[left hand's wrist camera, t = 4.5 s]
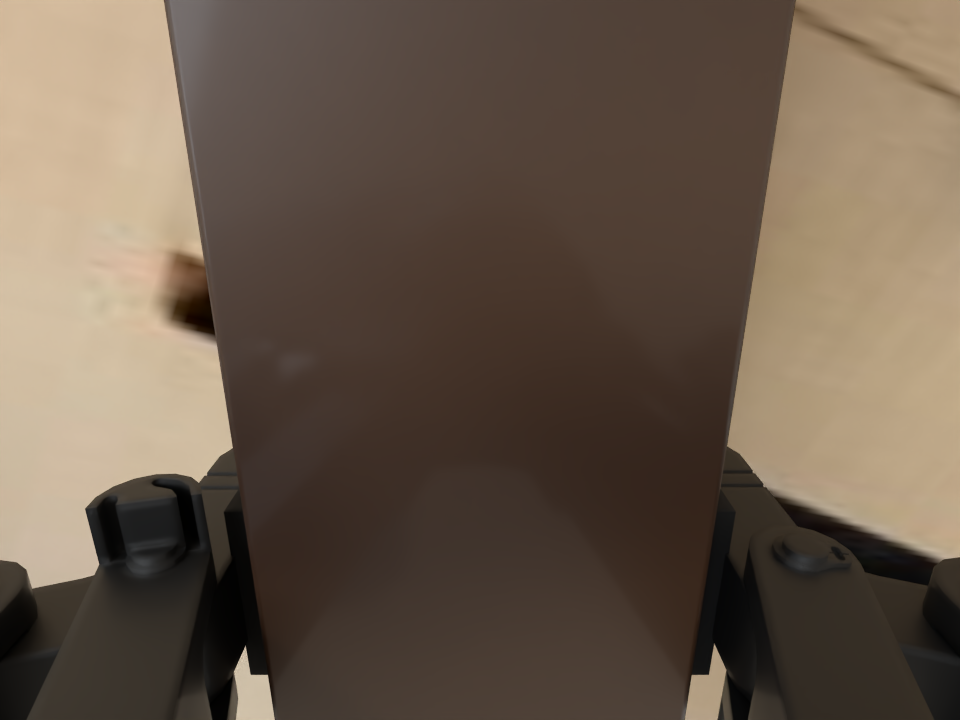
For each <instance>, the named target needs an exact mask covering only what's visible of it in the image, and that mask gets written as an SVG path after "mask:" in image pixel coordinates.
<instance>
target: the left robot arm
mask: <svg viewBox="0 0 960 720" xmlns="http://www.w3.org/2000/svg"><path fill="white" fill-rule="evenodd" d="M752 471H753V470H752V469H751V468H750V467H749V465H748V464H747V463H746V462H745V460H744V459H743V458H742V456H741V455H740V454H739V453H737V452H735V451H734V450H732V449H730V448H729V447H727V448H726V455H725V461H724V468H723V474H722V481H721V487H720V494H719V500H718V507H717V513H716V520H715V526H714V533H713V539H712V546H711V552H710V559H709V565H708V572H707V578H706V585H705V591H704V598H703V604H702V611H701V617H700V624H699V630H698V636H697V643H696V649H695V656H694V662H693V669H692V675H709V671H710V665H711V659H712V653H713V647H714V643H715V646H716V648H717V650H718V652H719V654H720V657H721V659H722V661H723V663H724V665H725V668H726V676H725V681H724V687H723V693H722V698H721V704H720V709H719V715H718V720H960V557H959V558H952V559H944V560H942V561H941V562H940V563H938V564H937V565H936V566H935V567H934V569H933V572H932V575H931V579H930V582H929V585H928V586H925V585H920V584H915V583H910V582H905V581H900V580H896V579H891V578H886V577H881V576H876V575H873V574H869V573H865V572H864V570H863V568H862V566H861V564H860V562H859V561H858V560H857V559H856V557H855V556H854V555H853V553H852V552H851V551H850V550H848V549H847V548H846V547H844V546H843V545H841V544H840V543H839V542H837V541H836V540H834V539H832V538H830V537H827V536H825V535H823V534H820V533H818V532H816V531H813V530H809V529H804V528H800V527H797V526H796V525H795V523H794V522H793V521H792V520H791V518H790V517H789V516H788V514H787V513H786V512H785V511H784V509H783V508H782V507H781V506H780V504H779V503H778V502H777V501H776V499H775V498H774V497H773V496H772V494H771V493H770V492H769V491H768V489H767V488H766V487H763V483H762V482H761V480H760V479H759V478H758V477H757V475H756V474H753V472H752ZM85 510H86V514H87V518H88V522H89V526H90V530H91V533H92V537H93V541H94V545H95V549H96V553H97V557H98V561H99V567H98V569H97V571H96V573H95V575H94V576H90V577H86V578H83V579H78V580H73V581H68V582H63V583H58V584H53V585H49V586H44V587H39V588H34V589H32V587H31V584H30V580H29V577H28V574H27V571H26V569H25V568H23V567H22V566H21V565H19V564H18V563H17V562H9V561H2V560H0V720H236V713H237V704H238V694H237V687H236V681H235V676H234V670H235V668H236V666H237V663H238V661H239V659H240V657H241V654H242V652H243V650H244V648H245V646H246V649H247V655H248V661H249V667H250V673H251V675H268V671H267V665H266V658H265V652H264V645H263V639H262V632H261V626H260V620H259V613H258V607H257V600H256V594H255V587H254V581H253V574H252V568H251V561H250V555H249V548H248V542H247V535H246V529H245V522H244V516H243V509H242V503H241V496H240V490H239V483H238V477H237V470H236V464H235V457H234V451H233V449H231V450H229V451H228V452H226V453H225V454H223V455H222V456H220V457H219V458H218V460H217V461H216V462H215V464H214V465H213V466H212V467H211V469H210V470H209V471H208V472H207V476H204V477H203V479H202V480H201V481H200V483H198V482H197V481H195V480H194V479H193V478H191V477H188V476H183V475H178V474H156V475H151V476H146V477H141V478H136V479H133V480H130V481H127V482H125V483H122V484H119V485H117V486H114V487H112V488H110V489H109V490H107V491H105V492H104V493H102V494H100V495H99V496H97V497H96V498H95V499H94V500H93V501H92V502H91V503H90V504H89V505H88V506H87V507H86V508H85Z"/></svg>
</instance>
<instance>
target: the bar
mask: <svg viewBox="0 0 960 720" xmlns="http://www.w3.org/2000/svg"><path fill="white" fill-rule="evenodd" d="M795 1H796V0H164V3H165V10H166V16H167V23H168V29H169V36H170V42H171V49H172V55H173V62H174V68H175V75H176V81H177V88H178V94H179V101H180V107H181V114H182V120H183V127H184V133H185V140H186V146H187V153H188V159H189V166H190V172H191V179H192V185H193V192H194V198H195V205H196V211H197V217H198V224H199V230H200V237H201V243H202V250H203V256H204V263H205V269H206V276H207V282H208V289H209V295H210V302H211V308H212V315H213V321H214V328H215V334H216V341H217V347H218V354H219V360H220V367H221V373H222V380H223V386H224V393H225V399H226V406H227V412H228V418H229V425H230V431H231V438H232V444H233V451H234V457H235V464H236V470H237V477H238V483H239V490H240V496H241V503H242V509H243V516H244V522H245V529H246V535H247V542H248V548H249V555H250V561H251V568H252V574H253V581H254V587H255V594H256V600H257V607H258V613H259V620H260V626H261V632H262V639H263V645H264V652H265V658H266V665H267V671H268V678H269V684H270V691H271V697H272V704H273V710H274V717H275V720H685V714H686V708H687V701H688V695H689V688H690V682H691V675H692V669H693V662H694V656H695V649H696V643H697V636H698V630H699V624H700V617H701V611H702V604H703V598H704V591H705V585H706V578H707V572H708V565H709V559H710V552H711V546H712V539H713V533H714V526H715V520H716V513H717V507H718V500H719V494H720V487H721V481H722V474H723V468H724V461H725V455H726V448H727V442H728V436H729V429H730V423H731V416H732V410H733V403H734V397H735V390H736V384H737V377H738V371H739V364H740V358H741V351H742V345H743V338H744V332H745V325H746V319H747V312H748V306H749V299H750V293H751V286H752V280H753V273H754V267H755V260H756V254H757V248H758V241H759V235H760V228H761V222H762V215H763V209H764V202H765V196H766V189H767V183H768V176H769V170H770V163H771V157H772V150H773V144H774V137H775V131H776V124H777V118H778V111H779V105H780V98H781V92H782V85H783V79H784V72H785V66H786V60H787V53H788V47H789V40H790V34H791V27H792V21H793V14H794V8H795Z"/></svg>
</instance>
